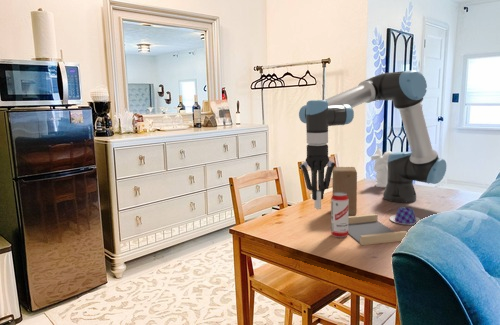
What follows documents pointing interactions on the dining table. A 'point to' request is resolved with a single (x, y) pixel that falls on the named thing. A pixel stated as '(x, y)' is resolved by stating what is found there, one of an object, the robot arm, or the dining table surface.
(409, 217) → the pudding
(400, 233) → the cradle
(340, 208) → the beer can
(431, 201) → the dining table surface
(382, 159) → the cherub figurine
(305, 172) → the robot arm
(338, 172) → the wooden block
